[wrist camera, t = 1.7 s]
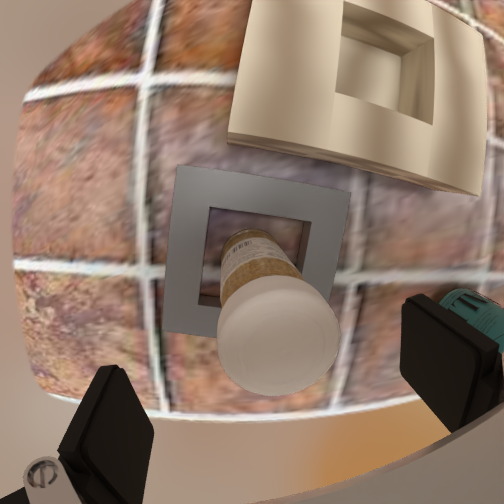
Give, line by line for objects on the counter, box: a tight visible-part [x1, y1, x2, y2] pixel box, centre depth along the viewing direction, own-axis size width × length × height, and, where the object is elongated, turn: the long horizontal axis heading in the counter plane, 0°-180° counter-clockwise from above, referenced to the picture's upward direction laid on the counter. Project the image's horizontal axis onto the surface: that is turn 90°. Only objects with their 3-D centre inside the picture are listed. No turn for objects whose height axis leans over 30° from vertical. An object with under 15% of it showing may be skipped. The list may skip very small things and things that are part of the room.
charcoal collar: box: [162, 165, 351, 338], centre depth 23 cm, size 12×12×2 cm
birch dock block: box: [227, 0, 487, 196], centre depth 18 cm, size 18×14×6 cm
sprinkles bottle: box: [217, 229, 341, 396], centre depth 17 cm, size 5×5×14 cm
